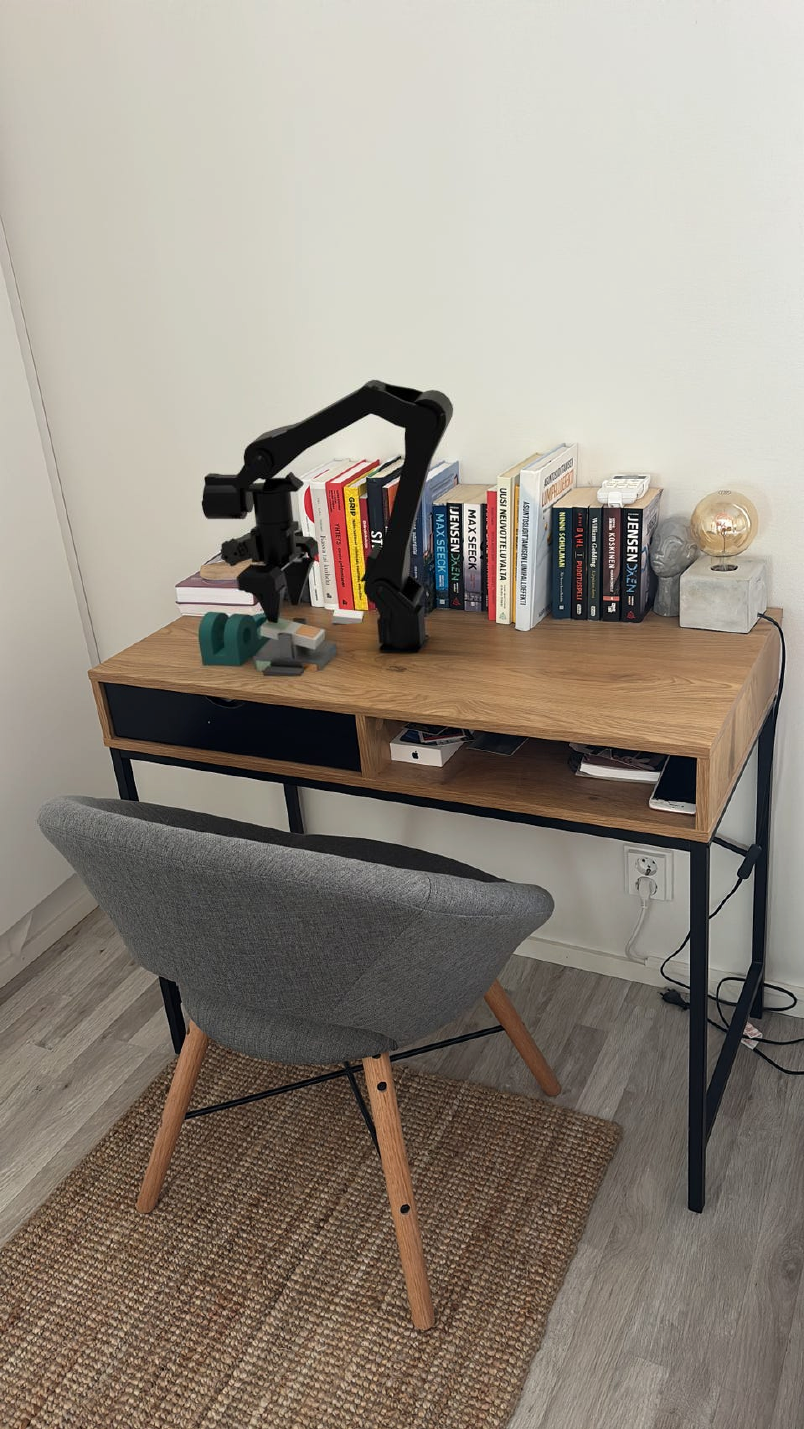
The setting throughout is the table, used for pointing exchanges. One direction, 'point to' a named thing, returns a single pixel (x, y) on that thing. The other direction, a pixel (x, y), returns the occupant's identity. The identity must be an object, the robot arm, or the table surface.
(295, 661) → the grey stand
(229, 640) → the bracket
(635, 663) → the table surface
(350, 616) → the eraser
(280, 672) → the dark grey rectangular bar
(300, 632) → the rocker switch
